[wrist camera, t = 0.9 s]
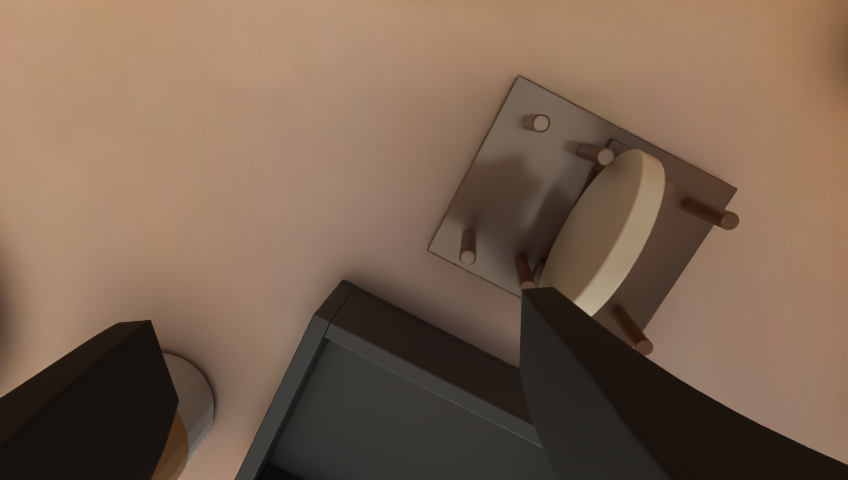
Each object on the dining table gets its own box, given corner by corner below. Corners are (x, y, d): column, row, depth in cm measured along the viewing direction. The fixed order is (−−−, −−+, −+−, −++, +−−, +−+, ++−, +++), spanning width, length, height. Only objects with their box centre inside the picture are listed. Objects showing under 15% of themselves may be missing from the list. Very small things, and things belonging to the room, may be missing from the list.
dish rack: (725, 185, 25) (790, 202, 20) (621, 343, 27) (655, 395, 22) (516, 76, 24) (527, 65, 19) (428, 244, 27) (417, 274, 22)
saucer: (628, 152, 24) (697, 167, 16) (543, 292, 25) (571, 363, 18) (610, 143, 24) (671, 154, 16) (527, 284, 25) (548, 351, 18)
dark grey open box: (636, 428, 28) (670, 495, 23) (520, 592, 31) (529, 682, 26) (342, 278, 28) (313, 313, 23) (255, 459, 31) (213, 524, 26)
